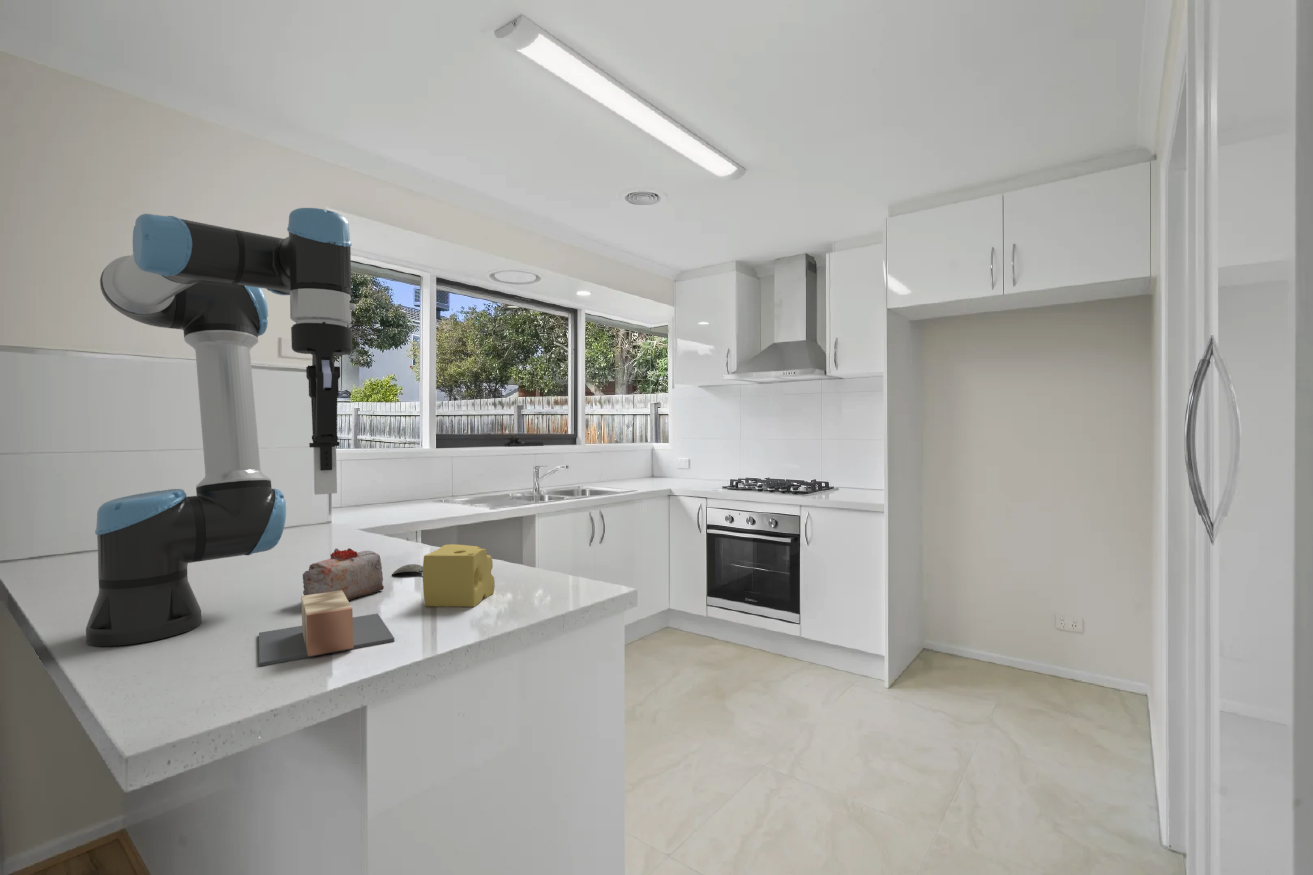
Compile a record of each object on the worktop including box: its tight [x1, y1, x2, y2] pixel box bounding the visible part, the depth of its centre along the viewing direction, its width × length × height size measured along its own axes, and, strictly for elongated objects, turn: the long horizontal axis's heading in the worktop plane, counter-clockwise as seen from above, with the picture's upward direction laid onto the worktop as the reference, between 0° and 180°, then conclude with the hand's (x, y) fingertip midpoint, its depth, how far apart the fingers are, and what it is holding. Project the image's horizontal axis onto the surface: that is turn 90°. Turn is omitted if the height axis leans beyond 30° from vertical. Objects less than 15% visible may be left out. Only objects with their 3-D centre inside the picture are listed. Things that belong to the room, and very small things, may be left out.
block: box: [301, 590, 354, 657], centre depth 99 cm, size 6×6×13 cm
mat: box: [258, 613, 395, 667], centre depth 101 cm, size 18×16×1 cm
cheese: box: [422, 543, 496, 608], centre depth 123 cm, size 10×11×10 cm
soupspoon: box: [391, 563, 423, 576], centre depth 142 cm, size 22×3×7 cm
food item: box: [302, 547, 385, 601], centre depth 126 cm, size 14×8×10 cm, turn 154°
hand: (325, 493), depth 89 cm, fingers closed
